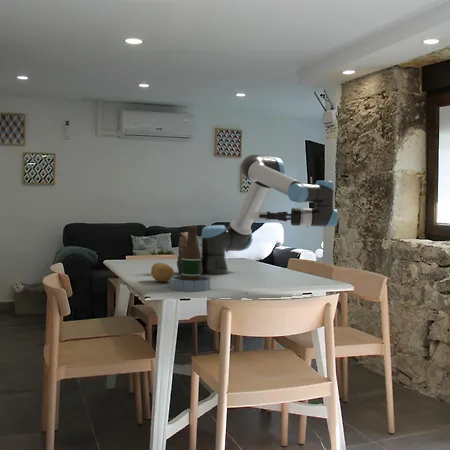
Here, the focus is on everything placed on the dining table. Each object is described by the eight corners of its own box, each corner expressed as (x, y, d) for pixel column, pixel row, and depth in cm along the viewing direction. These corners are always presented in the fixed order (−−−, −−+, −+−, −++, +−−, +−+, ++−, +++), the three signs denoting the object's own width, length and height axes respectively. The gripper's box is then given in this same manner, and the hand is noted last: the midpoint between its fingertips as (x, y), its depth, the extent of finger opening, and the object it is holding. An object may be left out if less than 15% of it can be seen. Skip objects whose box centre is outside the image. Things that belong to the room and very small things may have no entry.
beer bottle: (182, 286, 228) (184, 226, 227) (179, 284, 235) (181, 225, 234) (201, 286, 229) (203, 227, 228) (198, 284, 237) (200, 226, 236)
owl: (176, 274, 272) (178, 232, 271) (174, 271, 284) (175, 231, 283) (203, 275, 274) (204, 233, 273) (199, 271, 287) (200, 231, 286)
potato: (157, 284, 238) (157, 265, 238) (146, 280, 250) (147, 262, 250) (179, 284, 242) (179, 265, 242) (167, 279, 255) (168, 261, 254)
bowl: (172, 284, 240) (172, 274, 240) (210, 285, 240) (211, 276, 240) (168, 290, 224) (168, 280, 224) (209, 291, 224) (209, 281, 224)
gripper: (303, 227, 231) (251, 225, 231) (297, 224, 256) (249, 223, 256) (304, 208, 231) (251, 206, 231) (297, 207, 256) (250, 206, 256)
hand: (250, 215), depth 244 cm, fingers open, 13 cm apart
